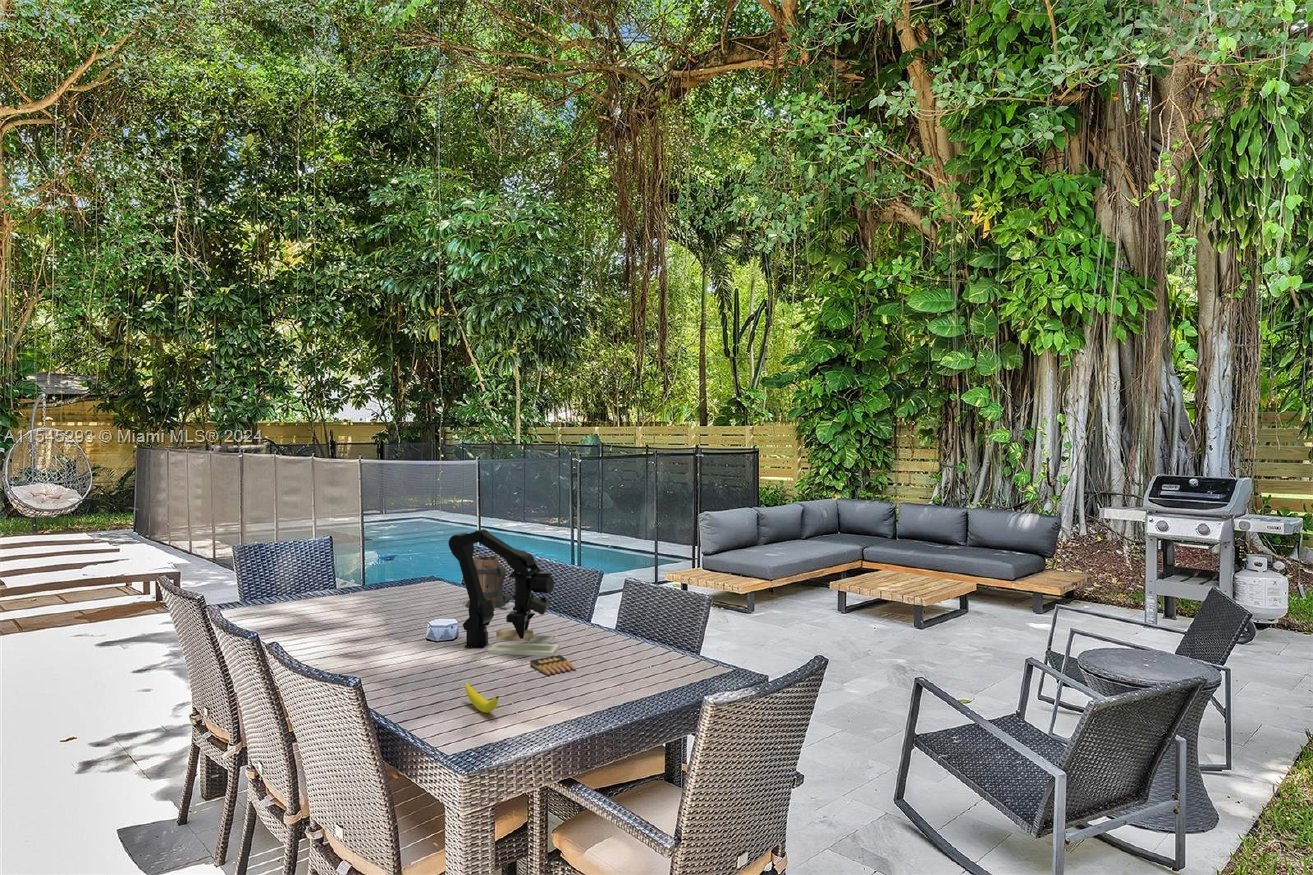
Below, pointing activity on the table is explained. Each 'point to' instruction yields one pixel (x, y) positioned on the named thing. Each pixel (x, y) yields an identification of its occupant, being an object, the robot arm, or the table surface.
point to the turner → (523, 637)
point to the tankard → (491, 580)
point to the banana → (480, 700)
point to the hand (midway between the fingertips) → (523, 637)
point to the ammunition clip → (552, 665)
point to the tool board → (523, 649)
